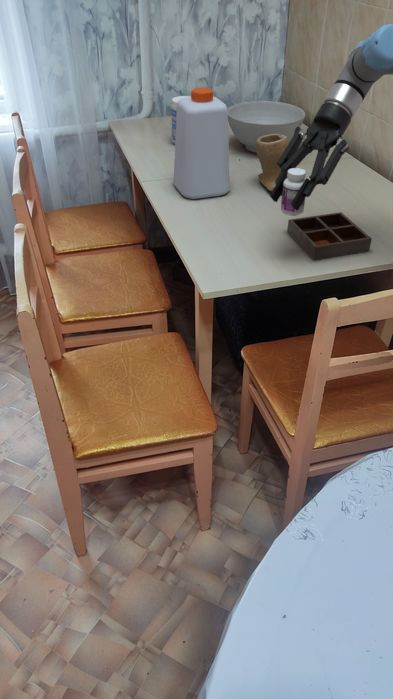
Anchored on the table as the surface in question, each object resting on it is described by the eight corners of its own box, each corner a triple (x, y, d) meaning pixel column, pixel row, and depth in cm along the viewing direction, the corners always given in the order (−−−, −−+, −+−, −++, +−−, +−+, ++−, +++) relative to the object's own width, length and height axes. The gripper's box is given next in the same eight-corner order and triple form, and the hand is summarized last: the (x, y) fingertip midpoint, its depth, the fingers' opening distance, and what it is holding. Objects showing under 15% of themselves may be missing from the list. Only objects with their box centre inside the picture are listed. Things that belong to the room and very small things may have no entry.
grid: (368, 251, 136) (371, 238, 134) (313, 260, 132) (315, 247, 130) (338, 224, 147) (341, 212, 145) (287, 232, 144) (288, 219, 141)
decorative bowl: (303, 138, 201) (308, 103, 193) (297, 164, 181) (301, 127, 173) (232, 132, 206) (234, 98, 198) (218, 157, 185) (219, 120, 178)
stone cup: (248, 178, 171) (252, 129, 162) (284, 175, 173) (289, 127, 164) (263, 198, 160) (267, 147, 150) (301, 195, 162) (308, 144, 152)
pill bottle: (281, 205, 129) (285, 165, 123) (304, 207, 128) (309, 167, 122) (279, 215, 125) (283, 174, 118) (302, 217, 124) (308, 176, 118)
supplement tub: (167, 144, 195) (165, 100, 186) (180, 136, 202) (179, 94, 192) (190, 148, 192) (190, 104, 183) (203, 140, 198) (203, 97, 189)
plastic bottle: (185, 202, 158) (184, 100, 140) (170, 182, 169) (167, 85, 151) (233, 195, 162) (238, 95, 144) (215, 176, 173) (218, 81, 155)
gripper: (377, 130, 119) (322, 223, 120) (309, 112, 129) (259, 198, 130) (369, 110, 112) (311, 208, 114) (298, 92, 122) (245, 183, 124)
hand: (283, 202), depth 122 cm, fingers closed on pill bottle, 5 cm apart
